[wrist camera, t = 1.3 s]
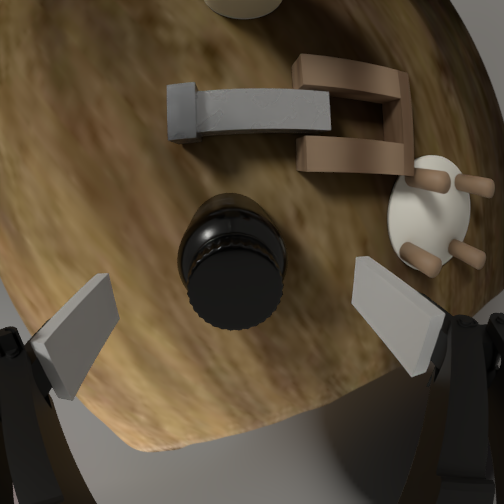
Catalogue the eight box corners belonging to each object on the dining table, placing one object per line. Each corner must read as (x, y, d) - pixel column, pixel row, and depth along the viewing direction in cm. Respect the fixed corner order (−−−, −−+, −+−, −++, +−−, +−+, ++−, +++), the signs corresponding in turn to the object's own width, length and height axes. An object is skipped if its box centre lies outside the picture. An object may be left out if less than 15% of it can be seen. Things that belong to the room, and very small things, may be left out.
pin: (178, 144, 22) (168, 140, 18) (176, 97, 20) (167, 85, 16) (318, 139, 22) (336, 135, 18) (316, 94, 21) (332, 82, 17)
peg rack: (364, 214, 25) (395, 227, 20) (434, 131, 23) (469, 130, 18) (421, 289, 29) (448, 310, 23) (478, 214, 26) (508, 225, 21)
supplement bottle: (187, 260, 25) (160, 336, 14) (197, 186, 23) (169, 208, 12) (260, 271, 26) (285, 351, 15) (276, 199, 24) (318, 233, 13)
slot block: (296, 170, 23) (307, 171, 20) (291, 66, 20) (300, 53, 17) (394, 173, 24) (413, 176, 21) (389, 80, 21) (407, 73, 18)
